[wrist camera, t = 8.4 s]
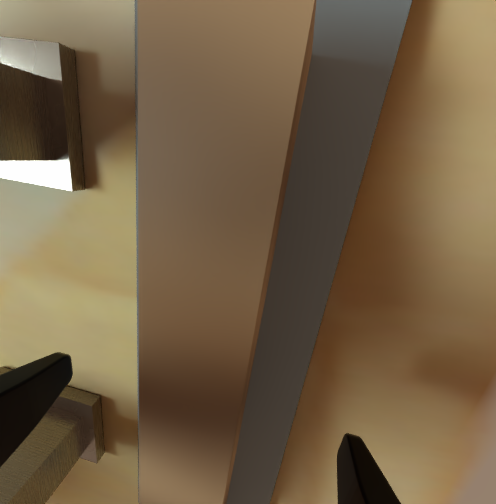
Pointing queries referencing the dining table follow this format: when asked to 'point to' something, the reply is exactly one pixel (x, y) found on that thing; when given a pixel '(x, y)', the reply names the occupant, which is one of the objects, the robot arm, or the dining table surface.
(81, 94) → the dining table surface
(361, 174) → the mat
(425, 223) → the dining table surface
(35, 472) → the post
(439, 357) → the dining table surface
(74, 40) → the dining table surface
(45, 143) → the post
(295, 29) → the rail
